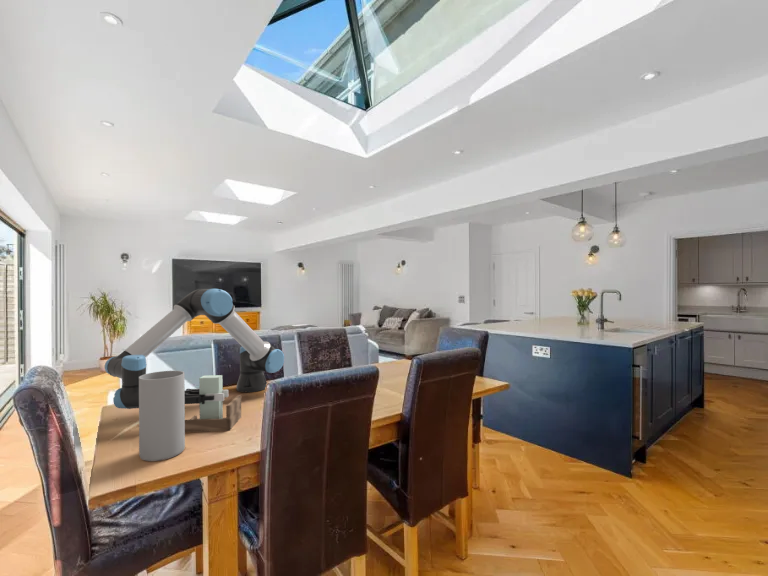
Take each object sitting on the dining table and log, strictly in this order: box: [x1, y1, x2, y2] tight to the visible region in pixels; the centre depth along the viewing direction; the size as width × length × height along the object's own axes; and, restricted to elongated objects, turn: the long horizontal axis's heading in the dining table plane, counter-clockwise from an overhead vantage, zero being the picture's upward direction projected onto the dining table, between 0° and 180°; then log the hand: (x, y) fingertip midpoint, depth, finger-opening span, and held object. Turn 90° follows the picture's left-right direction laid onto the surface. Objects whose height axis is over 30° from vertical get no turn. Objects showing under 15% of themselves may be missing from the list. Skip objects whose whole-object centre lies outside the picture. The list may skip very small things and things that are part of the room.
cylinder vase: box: [138, 370, 186, 462], centre depth 120 cm, size 12×12×25 cm
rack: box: [185, 394, 242, 433], centre depth 142 cm, size 14×18×10 cm
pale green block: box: [198, 374, 224, 419], centre depth 142 cm, size 4×7×18 cm, turn 95°
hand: (225, 395), depth 142 cm, fingers closed on pale green block, 4 cm apart
